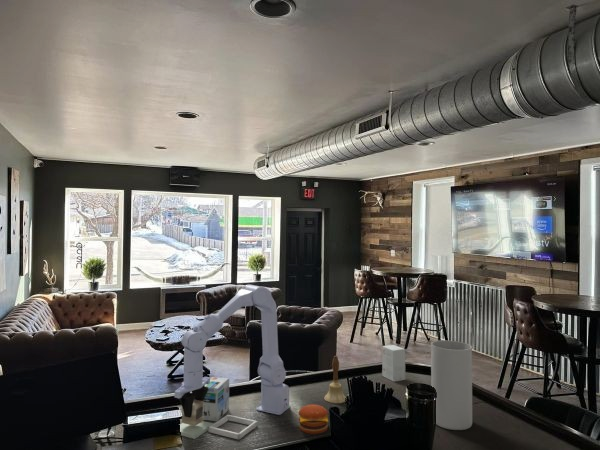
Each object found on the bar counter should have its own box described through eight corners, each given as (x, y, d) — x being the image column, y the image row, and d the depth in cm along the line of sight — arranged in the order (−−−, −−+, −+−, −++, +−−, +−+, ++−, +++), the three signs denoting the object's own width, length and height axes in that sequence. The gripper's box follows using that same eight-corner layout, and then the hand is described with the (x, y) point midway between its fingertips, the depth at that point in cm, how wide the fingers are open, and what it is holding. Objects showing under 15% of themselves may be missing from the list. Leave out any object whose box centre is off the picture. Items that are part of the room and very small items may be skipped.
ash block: (195, 426, 129) (195, 406, 129) (182, 422, 131) (182, 403, 131) (203, 420, 132) (203, 401, 132) (190, 417, 134) (190, 398, 135)
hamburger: (330, 433, 130) (330, 411, 130) (299, 435, 129) (299, 413, 129) (326, 420, 139) (326, 400, 139) (296, 421, 138) (296, 400, 138)
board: (213, 426, 134) (213, 423, 134) (194, 438, 126) (194, 435, 126) (190, 421, 138) (190, 418, 138) (171, 432, 129) (171, 429, 129)
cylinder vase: (473, 434, 129) (472, 351, 130) (430, 427, 134) (430, 347, 134) (471, 417, 141) (471, 342, 142) (432, 412, 146) (432, 339, 146)
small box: (405, 380, 178) (405, 348, 179) (393, 382, 176) (393, 350, 176) (393, 374, 186) (393, 344, 186) (381, 376, 183) (381, 345, 183)
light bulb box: (217, 422, 137) (218, 388, 138) (198, 420, 139) (198, 386, 139) (229, 408, 148) (229, 377, 148) (211, 407, 149) (211, 376, 149)
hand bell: (351, 400, 156) (351, 356, 156) (333, 405, 151) (333, 360, 152) (336, 393, 163) (337, 351, 163) (319, 398, 158) (319, 354, 159)
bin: (257, 425, 134) (257, 421, 134) (239, 439, 125) (239, 434, 125) (227, 419, 139) (227, 414, 139) (208, 432, 130) (208, 427, 130)
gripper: (198, 361, 140) (197, 403, 140) (166, 374, 127) (166, 420, 127) (215, 364, 137) (215, 407, 137) (185, 378, 124) (184, 425, 124)
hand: (192, 413), depth 132 cm, fingers closed on ash block, 4 cm apart
